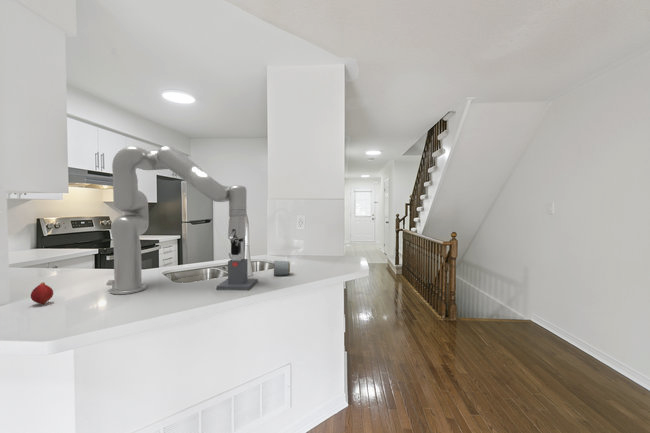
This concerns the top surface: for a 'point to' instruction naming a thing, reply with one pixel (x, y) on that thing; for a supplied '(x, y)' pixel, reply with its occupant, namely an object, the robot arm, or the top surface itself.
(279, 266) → the ceramic mug
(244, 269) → the stand
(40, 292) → the onion
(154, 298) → the top surface
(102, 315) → the top surface
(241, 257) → the column
